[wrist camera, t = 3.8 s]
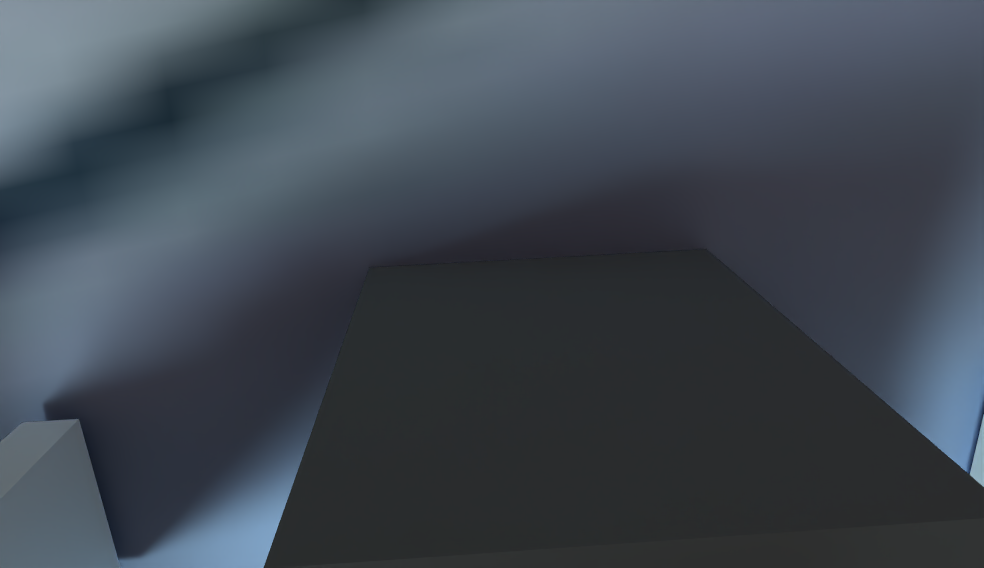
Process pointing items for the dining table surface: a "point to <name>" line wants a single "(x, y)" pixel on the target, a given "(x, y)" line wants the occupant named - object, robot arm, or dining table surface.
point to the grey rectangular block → (608, 431)
